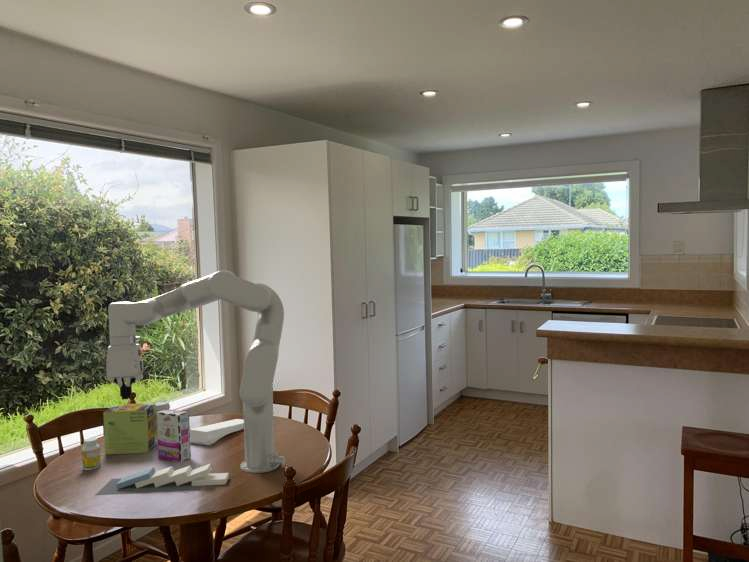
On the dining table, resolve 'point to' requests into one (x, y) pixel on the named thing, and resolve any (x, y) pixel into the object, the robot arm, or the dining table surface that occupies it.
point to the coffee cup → (161, 406)
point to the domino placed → (135, 478)
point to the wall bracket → (214, 431)
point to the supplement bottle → (91, 454)
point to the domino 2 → (175, 476)
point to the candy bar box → (173, 435)
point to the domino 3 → (195, 474)
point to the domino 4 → (211, 479)
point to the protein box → (130, 428)
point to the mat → (145, 488)
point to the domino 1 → (156, 477)
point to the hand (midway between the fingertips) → (126, 398)
